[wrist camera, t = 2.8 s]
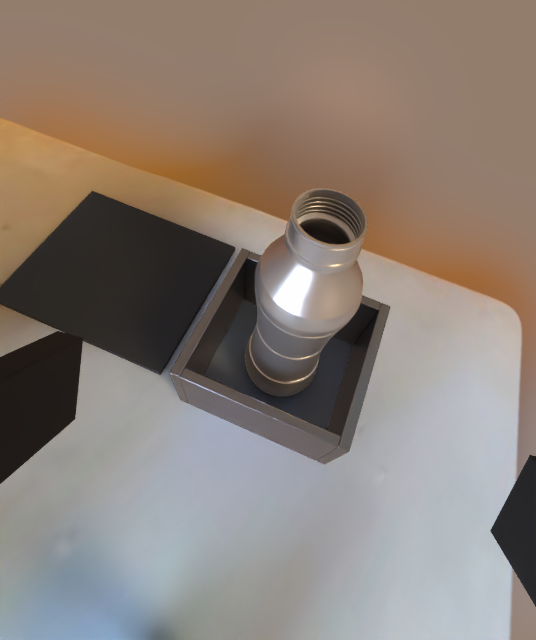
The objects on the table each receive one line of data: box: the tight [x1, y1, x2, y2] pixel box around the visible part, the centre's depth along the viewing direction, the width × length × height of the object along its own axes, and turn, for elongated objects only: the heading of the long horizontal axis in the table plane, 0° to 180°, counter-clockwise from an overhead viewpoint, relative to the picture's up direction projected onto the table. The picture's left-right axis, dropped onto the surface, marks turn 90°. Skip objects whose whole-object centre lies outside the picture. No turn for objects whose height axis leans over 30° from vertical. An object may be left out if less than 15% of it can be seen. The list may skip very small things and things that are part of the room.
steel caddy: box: [170, 248, 390, 464], centre depth 31 cm, size 14×13×7 cm
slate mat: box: [0, 191, 235, 375], centre depth 37 cm, size 18×16×1 cm
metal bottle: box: [244, 188, 368, 397], centre depth 26 cm, size 6×7×20 cm
